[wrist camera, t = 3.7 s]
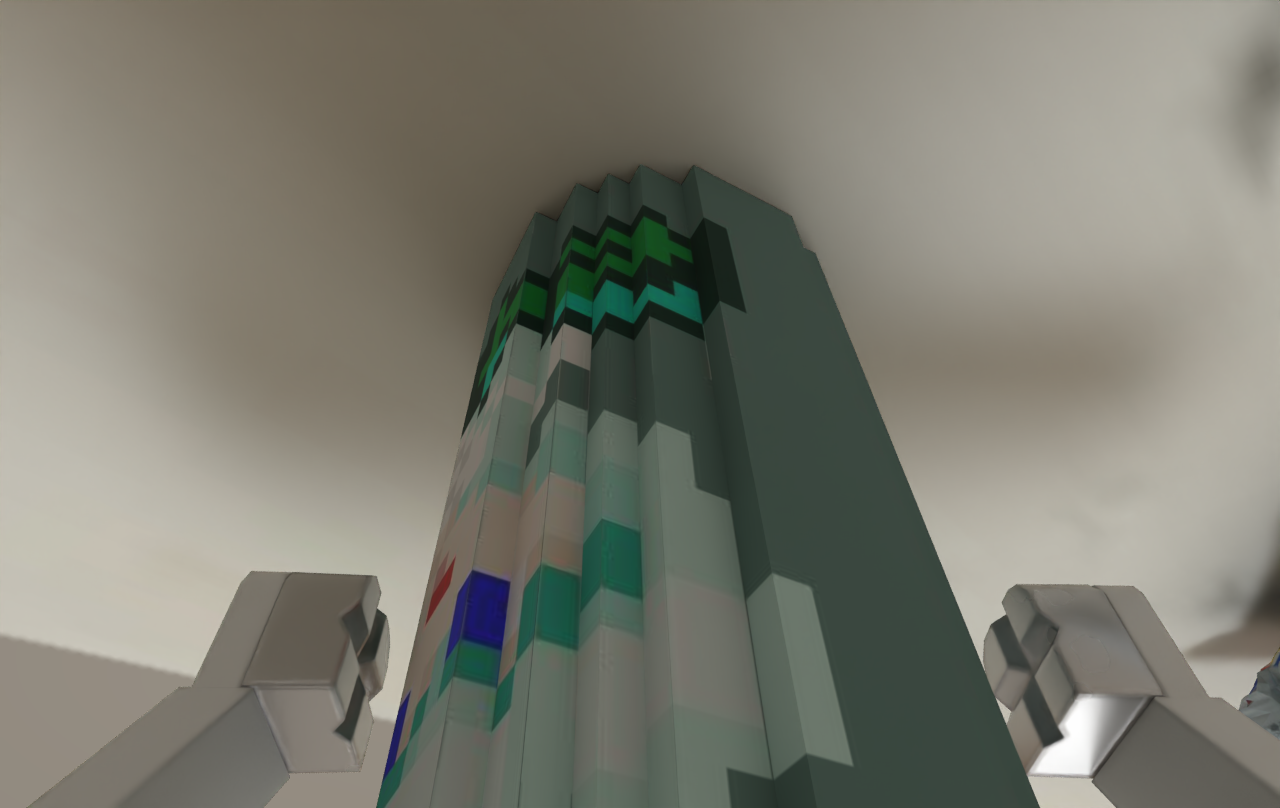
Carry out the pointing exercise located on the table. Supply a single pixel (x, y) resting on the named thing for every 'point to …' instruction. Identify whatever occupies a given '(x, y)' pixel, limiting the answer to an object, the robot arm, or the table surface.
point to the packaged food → (1265, 698)
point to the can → (685, 543)
